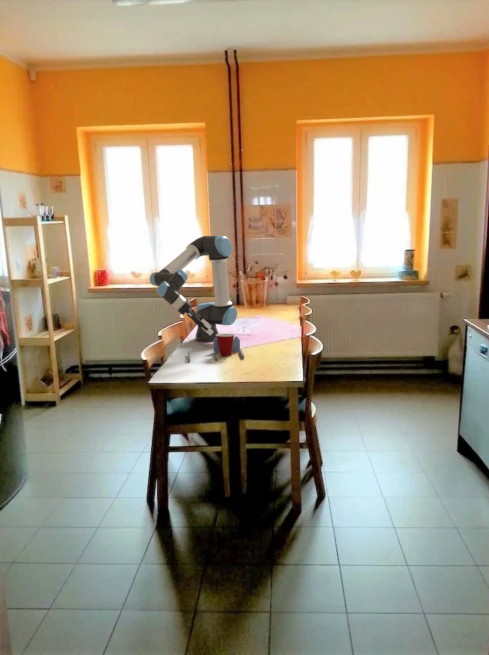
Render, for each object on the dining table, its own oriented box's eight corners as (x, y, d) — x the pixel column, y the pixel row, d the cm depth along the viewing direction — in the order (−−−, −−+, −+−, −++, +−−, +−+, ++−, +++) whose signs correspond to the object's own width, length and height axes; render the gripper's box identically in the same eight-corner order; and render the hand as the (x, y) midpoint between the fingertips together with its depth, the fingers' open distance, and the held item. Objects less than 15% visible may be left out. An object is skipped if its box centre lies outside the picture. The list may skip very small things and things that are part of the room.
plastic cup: (238, 353, 283) (237, 332, 281) (231, 357, 273) (230, 336, 271) (220, 352, 287) (219, 331, 285) (213, 356, 277) (212, 335, 275)
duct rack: (187, 353, 285) (186, 339, 283) (240, 350, 288) (239, 336, 287) (188, 362, 268) (187, 346, 266) (244, 359, 271) (243, 343, 269)
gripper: (176, 306, 280) (205, 330, 285) (177, 314, 256) (207, 341, 261) (185, 296, 279) (213, 321, 284) (186, 303, 255) (217, 330, 260)
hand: (211, 330), depth 273 cm, fingers open, 13 cm apart
